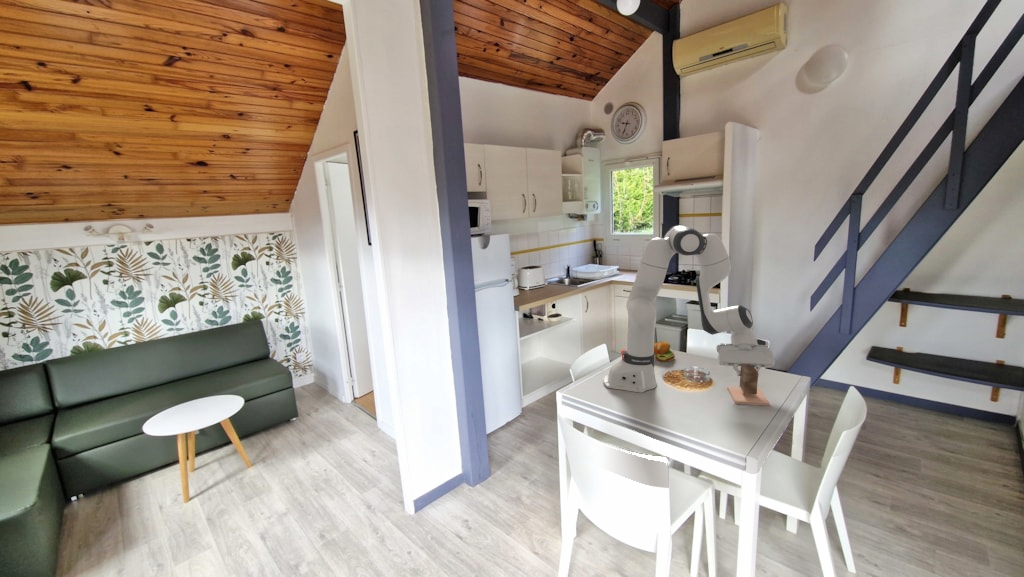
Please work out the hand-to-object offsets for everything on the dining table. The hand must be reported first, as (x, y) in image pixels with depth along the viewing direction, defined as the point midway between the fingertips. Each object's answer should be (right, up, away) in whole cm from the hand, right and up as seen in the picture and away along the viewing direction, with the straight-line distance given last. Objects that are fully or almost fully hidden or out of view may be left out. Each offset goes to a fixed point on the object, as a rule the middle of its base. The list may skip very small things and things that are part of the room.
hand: (747, 376), depth 172 cm
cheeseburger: (-19, 0, +43) cm, 47 cm away
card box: (0, -6, 0) cm, 6 cm away
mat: (0, -8, 0) cm, 8 cm away
